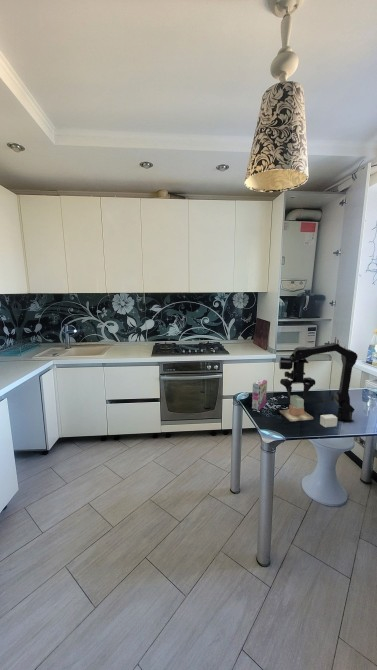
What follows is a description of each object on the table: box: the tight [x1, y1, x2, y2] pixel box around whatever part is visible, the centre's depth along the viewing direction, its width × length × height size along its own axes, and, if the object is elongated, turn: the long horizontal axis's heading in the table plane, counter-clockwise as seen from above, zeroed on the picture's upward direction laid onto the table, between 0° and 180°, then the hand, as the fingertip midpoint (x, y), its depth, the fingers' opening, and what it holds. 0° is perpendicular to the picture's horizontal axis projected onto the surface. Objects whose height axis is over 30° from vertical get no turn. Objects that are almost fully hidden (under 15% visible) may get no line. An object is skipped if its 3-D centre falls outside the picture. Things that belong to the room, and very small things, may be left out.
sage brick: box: [289, 394, 305, 409], centre depth 149 cm, size 7×4×5 cm, turn 10°
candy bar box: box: [251, 379, 268, 411], centre depth 161 cm, size 11×5×16 cm, turn 141°
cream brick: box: [319, 413, 338, 428], centre depth 139 cm, size 7×4×5 cm, turn 99°
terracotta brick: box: [288, 404, 305, 416], centre depth 150 cm, size 7×4×5 cm, turn 99°
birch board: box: [279, 409, 314, 422], centre depth 150 cm, size 14×12×1 cm
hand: (296, 396), depth 148 cm, fingers open, 9 cm apart
